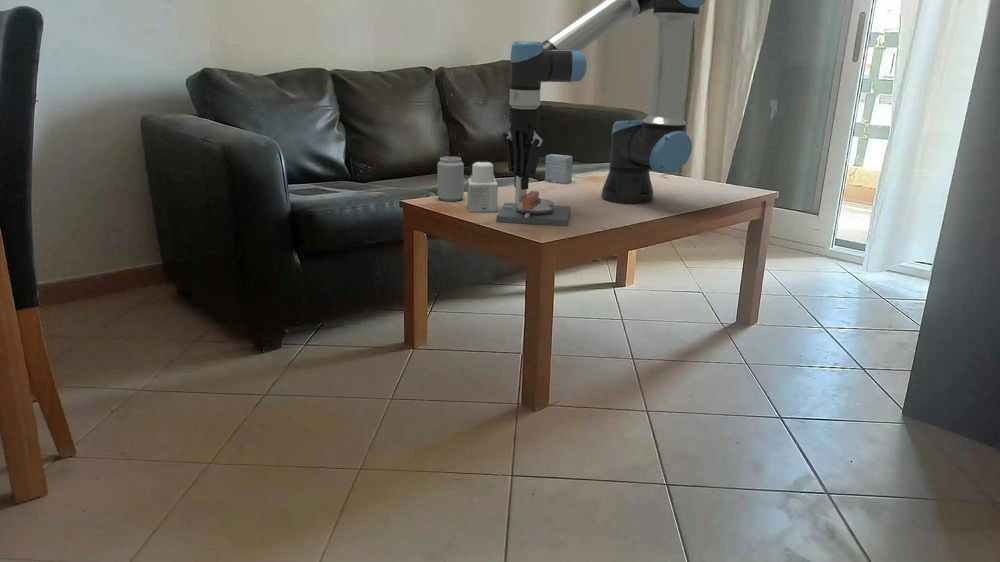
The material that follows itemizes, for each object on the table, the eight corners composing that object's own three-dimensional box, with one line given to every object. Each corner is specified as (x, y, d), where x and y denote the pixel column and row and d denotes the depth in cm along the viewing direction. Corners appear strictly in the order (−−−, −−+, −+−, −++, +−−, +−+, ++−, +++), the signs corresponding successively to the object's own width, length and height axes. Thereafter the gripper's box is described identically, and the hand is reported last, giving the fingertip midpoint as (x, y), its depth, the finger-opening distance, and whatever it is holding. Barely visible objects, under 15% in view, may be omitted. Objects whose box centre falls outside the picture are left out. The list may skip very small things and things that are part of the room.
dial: (521, 204, 196) (521, 186, 195) (557, 207, 194) (558, 189, 192) (506, 215, 184) (507, 196, 182) (545, 219, 181) (545, 199, 179)
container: (467, 205, 202) (467, 159, 198) (495, 205, 203) (496, 159, 198) (468, 211, 195) (469, 163, 191) (497, 212, 195) (498, 164, 191)
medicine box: (571, 182, 238) (573, 156, 235) (565, 184, 234) (567, 157, 231) (550, 179, 241) (551, 153, 239) (544, 181, 238) (545, 155, 235)
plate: (569, 211, 198) (570, 203, 197) (566, 225, 183) (567, 217, 182) (504, 208, 200) (504, 199, 199) (496, 221, 185) (496, 213, 184)
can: (459, 202, 205) (460, 160, 201) (434, 200, 207) (434, 159, 203) (466, 197, 212) (466, 156, 208) (441, 195, 214) (441, 155, 210)
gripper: (495, 105, 179) (493, 198, 187) (531, 110, 170) (527, 208, 178) (517, 103, 184) (514, 194, 192) (553, 109, 175) (548, 204, 183)
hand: (520, 201), depth 185 cm, fingers closed
